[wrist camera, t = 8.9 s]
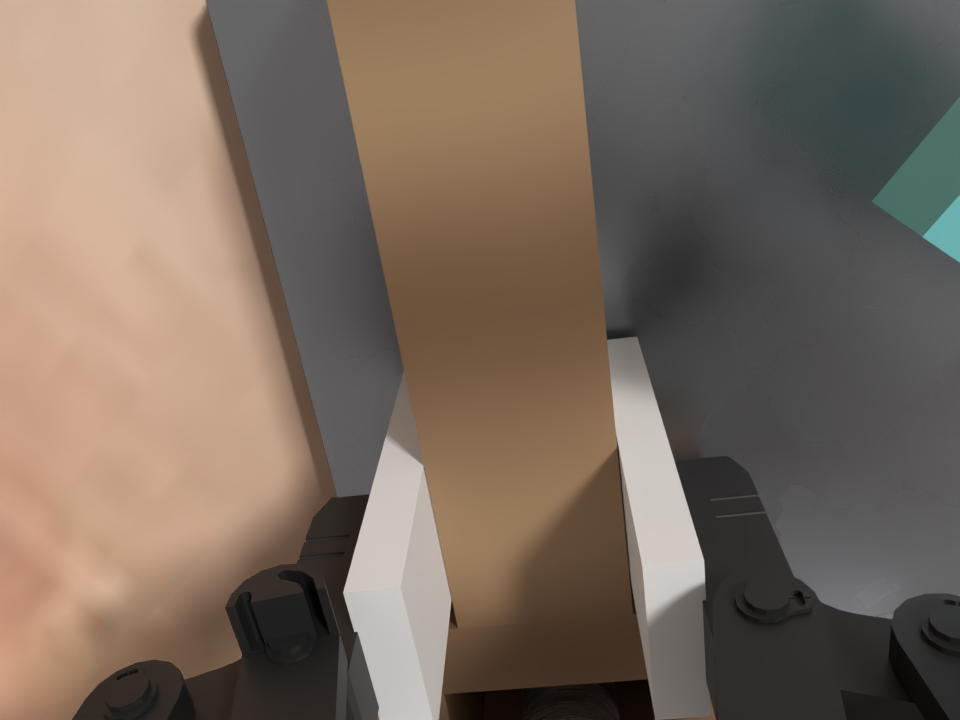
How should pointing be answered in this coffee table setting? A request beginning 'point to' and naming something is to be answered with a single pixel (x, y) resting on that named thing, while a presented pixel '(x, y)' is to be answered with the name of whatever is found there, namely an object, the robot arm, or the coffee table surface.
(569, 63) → the link
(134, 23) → the coffee table surface
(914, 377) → the base
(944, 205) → the keeper
